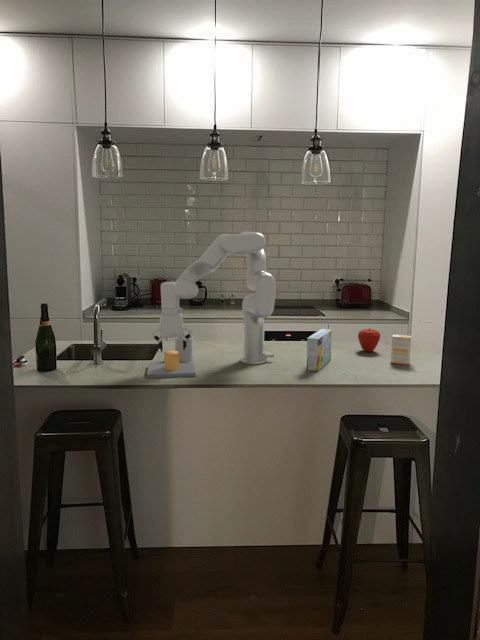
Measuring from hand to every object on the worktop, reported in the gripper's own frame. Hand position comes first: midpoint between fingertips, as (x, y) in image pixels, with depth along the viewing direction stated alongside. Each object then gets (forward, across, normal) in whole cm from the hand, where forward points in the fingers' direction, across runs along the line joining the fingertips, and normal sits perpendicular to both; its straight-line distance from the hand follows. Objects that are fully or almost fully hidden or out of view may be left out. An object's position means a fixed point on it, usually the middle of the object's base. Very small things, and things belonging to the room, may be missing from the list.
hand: (172, 349), depth 215 cm
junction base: (+10, +1, 0) cm, 10 cm away
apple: (+14, -98, -26) cm, 102 cm away
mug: (+10, -5, -20) cm, 23 cm away
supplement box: (+14, -105, -4) cm, 106 cm away
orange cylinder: (+8, +1, 0) cm, 8 cm away
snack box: (+12, -66, -4) cm, 67 cm away
